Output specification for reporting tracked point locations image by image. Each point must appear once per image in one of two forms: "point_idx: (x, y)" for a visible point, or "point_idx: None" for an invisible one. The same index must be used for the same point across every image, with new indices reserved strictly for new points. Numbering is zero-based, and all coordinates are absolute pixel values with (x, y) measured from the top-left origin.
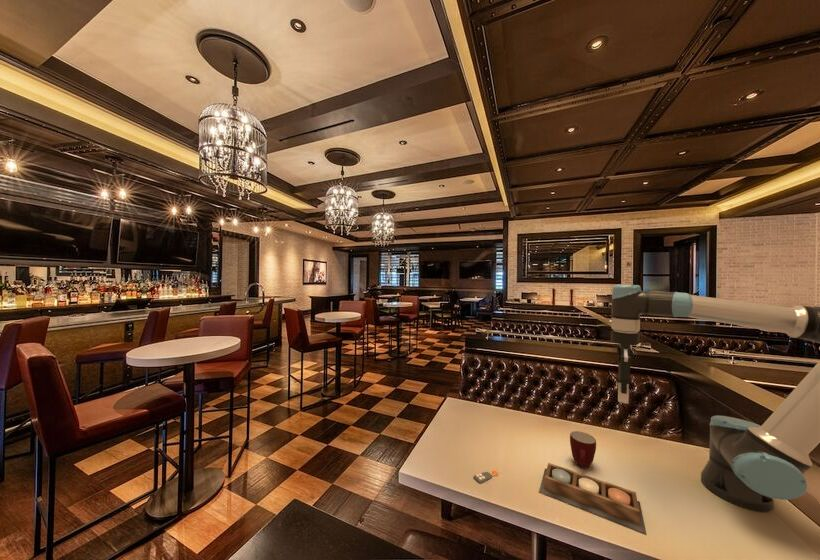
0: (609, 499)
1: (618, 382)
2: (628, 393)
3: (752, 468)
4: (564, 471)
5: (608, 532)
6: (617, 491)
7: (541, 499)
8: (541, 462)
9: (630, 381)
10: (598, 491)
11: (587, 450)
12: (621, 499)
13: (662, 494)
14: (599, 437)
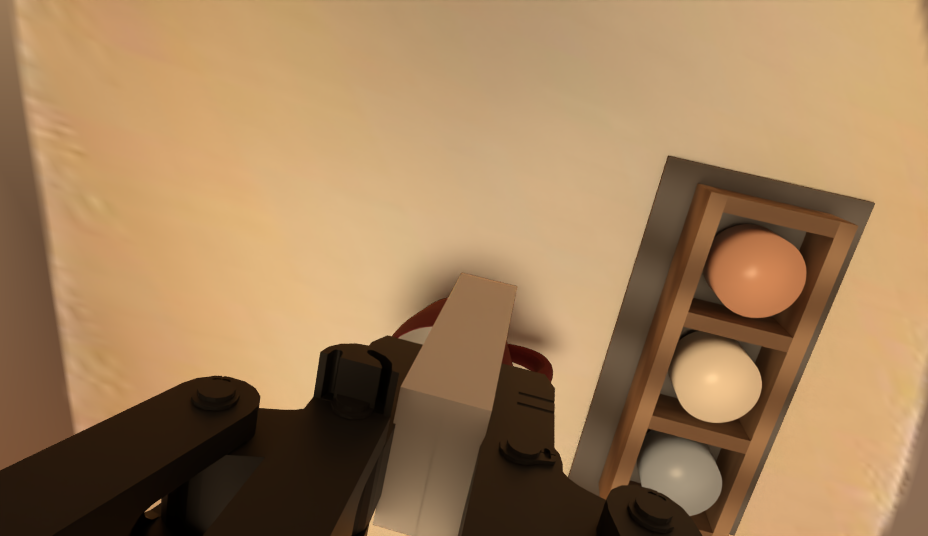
0: (803, 327)
1: (407, 517)
2: (505, 336)
3: None
4: (654, 465)
5: (892, 338)
6: (739, 277)
7: (772, 530)
8: None
9: (396, 369)
10: (737, 348)
11: (511, 365)
12: (795, 278)
13: (568, 25)
14: (155, 176)
